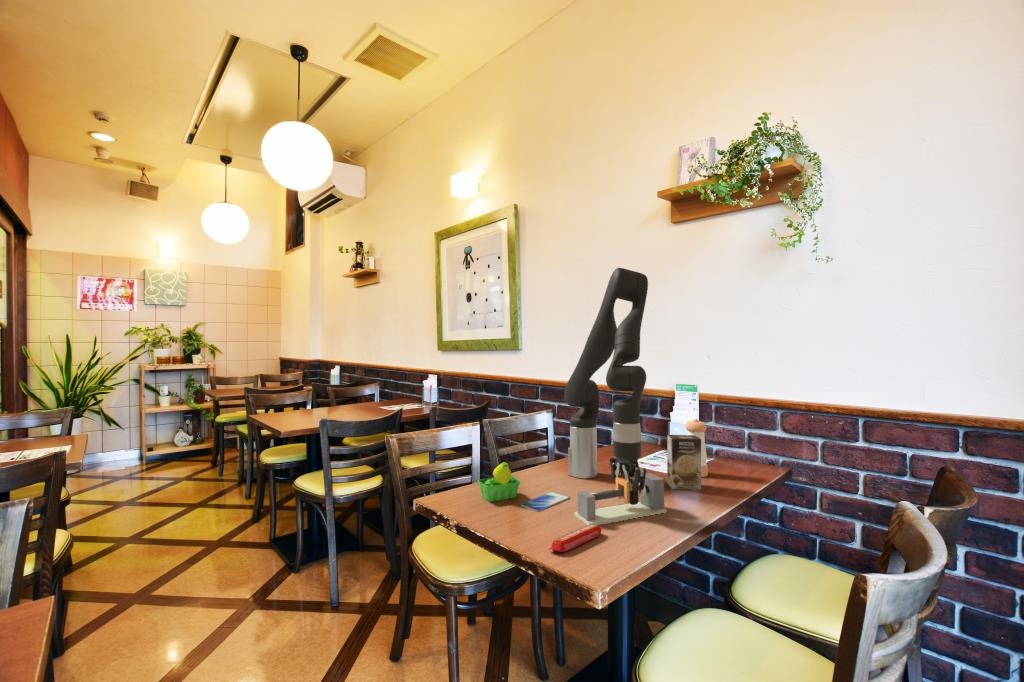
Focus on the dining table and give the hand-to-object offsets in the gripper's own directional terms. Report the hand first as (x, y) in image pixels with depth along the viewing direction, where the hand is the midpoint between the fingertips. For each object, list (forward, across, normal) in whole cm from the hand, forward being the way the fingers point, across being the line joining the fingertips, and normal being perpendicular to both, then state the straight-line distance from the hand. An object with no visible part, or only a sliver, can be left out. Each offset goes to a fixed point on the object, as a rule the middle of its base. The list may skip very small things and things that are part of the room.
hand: (627, 500), depth 124 cm
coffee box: (+4, +12, -30) cm, 32 cm away
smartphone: (+4, +16, +17) cm, 24 cm away
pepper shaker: (+4, +21, -43) cm, 48 cm away
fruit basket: (+4, +25, +28) cm, 38 cm away
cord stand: (+3, 0, +2) cm, 4 cm away
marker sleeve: (0, 0, 0) cm, 0 cm away
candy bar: (+4, -11, +22) cm, 25 cm away
